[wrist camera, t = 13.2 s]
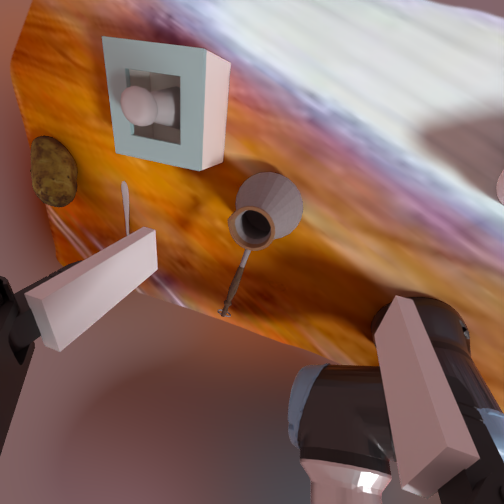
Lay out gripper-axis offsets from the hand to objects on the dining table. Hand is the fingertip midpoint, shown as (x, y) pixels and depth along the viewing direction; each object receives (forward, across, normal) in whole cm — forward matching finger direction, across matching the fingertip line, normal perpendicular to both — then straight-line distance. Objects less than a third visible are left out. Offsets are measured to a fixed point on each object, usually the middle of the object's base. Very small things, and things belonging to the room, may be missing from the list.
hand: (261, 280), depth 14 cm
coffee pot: (+32, +6, +11) cm, 34 cm away
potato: (+32, +49, +9) cm, 59 cm away
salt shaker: (+31, +22, -6) cm, 39 cm away
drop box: (+32, +22, -6) cm, 39 cm away
